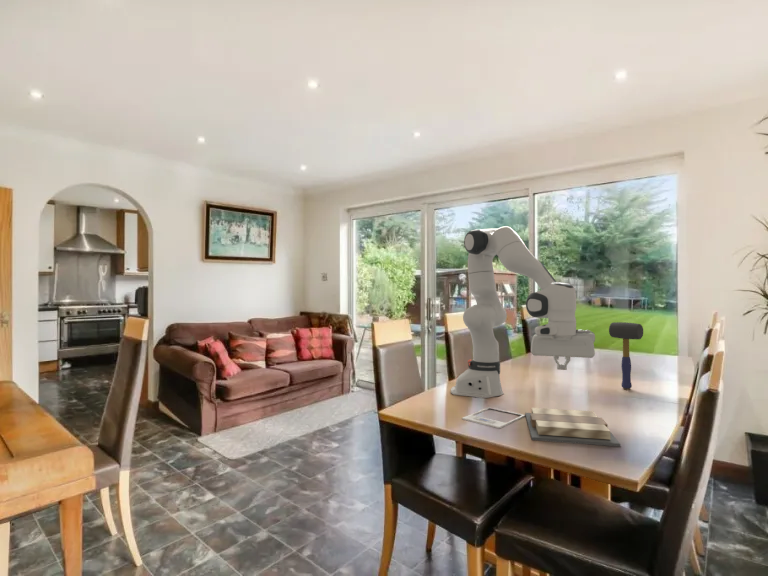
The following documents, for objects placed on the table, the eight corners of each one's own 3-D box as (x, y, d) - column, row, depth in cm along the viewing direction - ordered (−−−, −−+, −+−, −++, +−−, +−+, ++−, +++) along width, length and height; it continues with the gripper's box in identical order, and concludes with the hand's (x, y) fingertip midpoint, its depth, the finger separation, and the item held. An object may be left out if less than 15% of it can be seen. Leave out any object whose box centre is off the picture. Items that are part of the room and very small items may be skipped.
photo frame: (462, 417, 147) (488, 406, 160) (462, 420, 147) (488, 409, 160) (499, 426, 137) (525, 414, 150) (499, 429, 137) (525, 417, 150)
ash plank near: (538, 434, 128) (538, 426, 128) (535, 428, 135) (535, 420, 135) (610, 439, 123) (610, 430, 123) (604, 432, 130) (604, 424, 130)
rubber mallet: (608, 387, 191) (607, 322, 191) (616, 385, 196) (615, 321, 196) (638, 393, 181) (637, 323, 181) (645, 390, 186) (644, 322, 186)
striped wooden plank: (532, 427, 135) (532, 419, 135) (530, 420, 142) (530, 413, 142) (607, 432, 130) (607, 424, 130) (601, 425, 137) (601, 417, 137)
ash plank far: (533, 420, 142) (533, 413, 142) (531, 414, 149) (531, 407, 149) (598, 424, 137) (598, 417, 137) (593, 418, 144) (593, 411, 144)
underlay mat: (532, 439, 126) (532, 437, 126) (525, 414, 151) (525, 412, 152) (620, 446, 120) (620, 443, 120) (598, 419, 146) (597, 417, 146)
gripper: (592, 329, 145) (592, 369, 145) (530, 327, 150) (530, 366, 150) (597, 331, 139) (597, 373, 139) (532, 329, 144) (531, 369, 144)
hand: (561, 369), depth 144 cm, fingers closed
